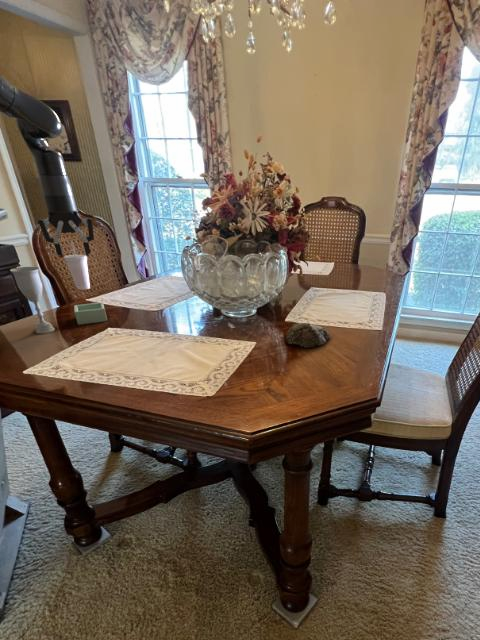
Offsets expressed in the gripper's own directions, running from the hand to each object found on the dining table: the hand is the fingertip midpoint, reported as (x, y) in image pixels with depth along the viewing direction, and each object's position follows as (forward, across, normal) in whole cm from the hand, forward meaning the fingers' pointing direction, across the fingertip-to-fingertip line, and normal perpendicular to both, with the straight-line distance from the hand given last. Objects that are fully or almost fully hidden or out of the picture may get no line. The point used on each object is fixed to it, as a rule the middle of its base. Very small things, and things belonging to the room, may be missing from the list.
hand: (75, 256), depth 115 cm
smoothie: (+10, 0, 0) cm, 10 cm away
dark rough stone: (+20, +54, -48) cm, 76 cm away
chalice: (+20, -13, -6) cm, 25 cm away
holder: (+20, 0, 0) cm, 20 cm away
